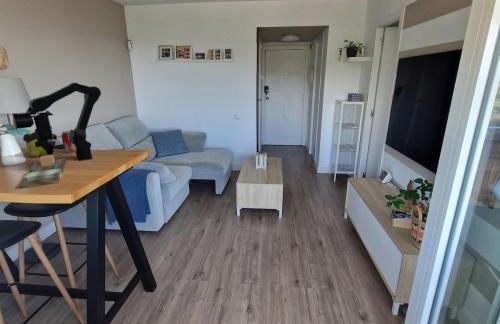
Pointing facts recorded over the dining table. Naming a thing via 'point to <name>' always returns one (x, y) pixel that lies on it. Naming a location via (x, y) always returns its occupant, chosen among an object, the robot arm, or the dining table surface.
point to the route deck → (44, 174)
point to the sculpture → (36, 149)
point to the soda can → (67, 143)
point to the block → (47, 160)
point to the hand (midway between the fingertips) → (50, 157)
